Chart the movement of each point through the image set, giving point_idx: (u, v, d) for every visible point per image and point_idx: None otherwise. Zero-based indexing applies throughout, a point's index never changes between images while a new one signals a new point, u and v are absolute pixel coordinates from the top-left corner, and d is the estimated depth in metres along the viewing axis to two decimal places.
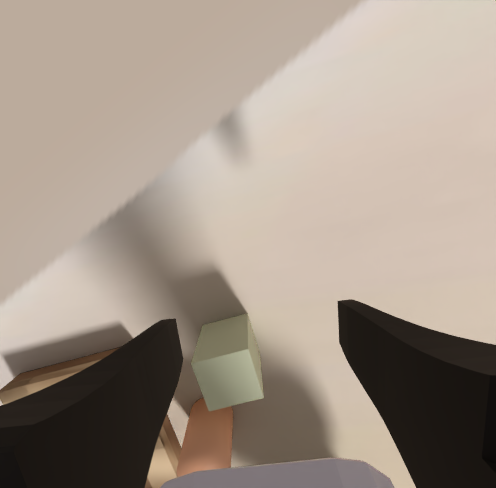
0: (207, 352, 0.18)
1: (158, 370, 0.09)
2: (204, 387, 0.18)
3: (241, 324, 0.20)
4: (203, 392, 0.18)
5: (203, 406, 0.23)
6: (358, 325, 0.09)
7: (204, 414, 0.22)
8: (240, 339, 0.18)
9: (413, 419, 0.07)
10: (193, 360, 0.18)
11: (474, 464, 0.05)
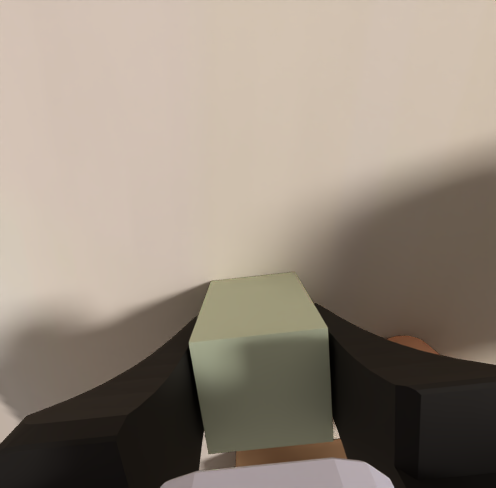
0: None
1: None
2: (270, 439, 0.08)
3: None
4: (283, 443, 0.08)
5: None
6: None
7: None
8: None
9: (353, 425, 0.07)
10: None
11: (390, 472, 0.05)
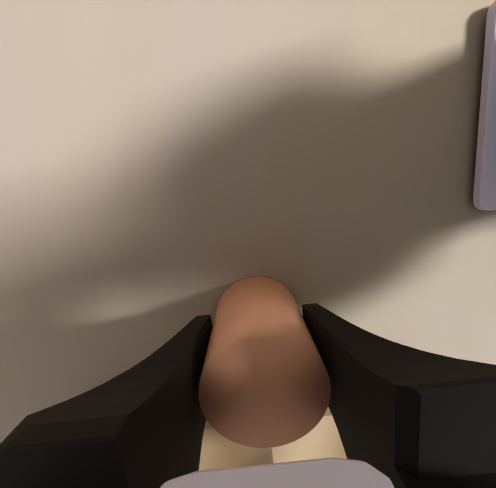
0: None
1: (201, 365, 0.09)
2: None
3: None
4: None
5: None
6: (315, 330, 0.09)
7: None
8: None
9: (353, 425, 0.07)
10: None
11: (390, 472, 0.05)
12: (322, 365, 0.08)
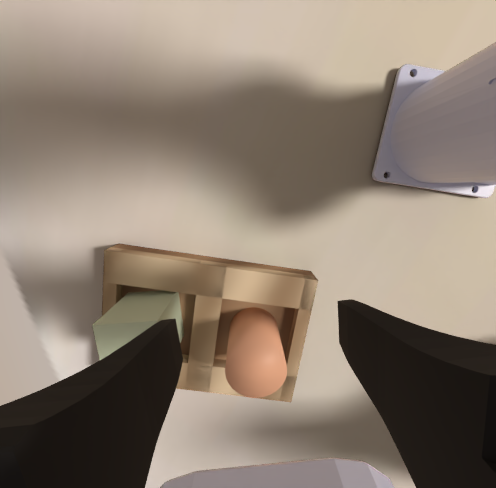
0: None
1: (158, 370, 0.09)
2: None
3: None
4: None
5: None
6: (358, 325, 0.09)
7: None
8: None
9: (413, 419, 0.07)
10: None
11: (474, 464, 0.05)
12: (278, 352, 0.16)
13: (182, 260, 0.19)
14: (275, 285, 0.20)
